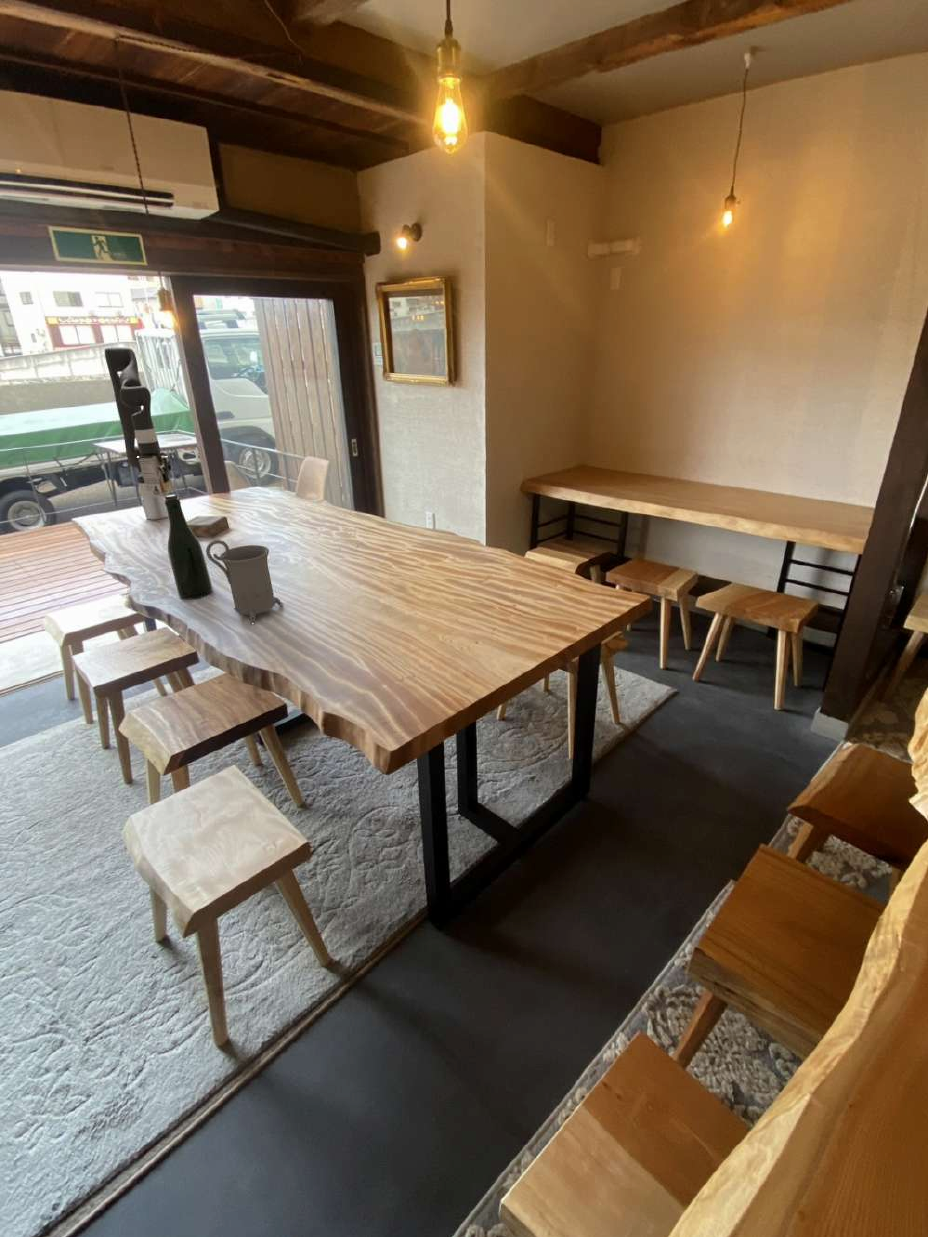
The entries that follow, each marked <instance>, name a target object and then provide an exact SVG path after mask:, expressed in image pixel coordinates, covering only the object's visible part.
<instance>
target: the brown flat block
mask: <svg viewBox="0 0 928 1237" xmlns="http://www.w3.org/2000/svg"><path fill="white" fill-rule="evenodd" d="M186 522H187V524H188V526H189V528H190V529H191V531H192V532H193V533H194V535H195V536H196V538H197V539H213V538H215V537H217V536H219V535H220V534H222V533H223V532H225V531H226V530H228V529H230V526H229V525H230V524H229V521H228V517H227V516H225V515H222V516H221V515H220V516H219V515H217V516H216V515H215V516H213V515H212V516H211V515H210V516H208V515H207V516H206V515H205V516H204V515H203V516H202V515H198V516H195V517H193V518H191V519H190V520H187V521H186Z"/></svg>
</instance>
